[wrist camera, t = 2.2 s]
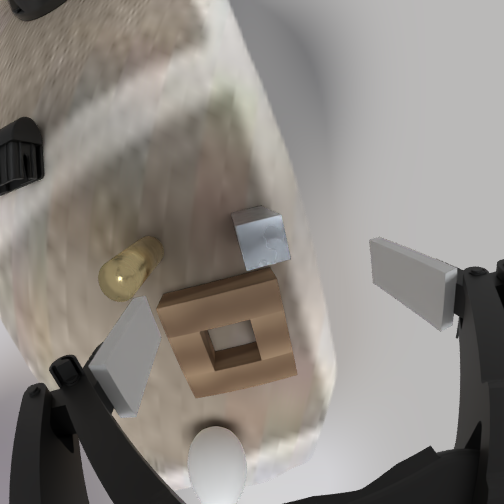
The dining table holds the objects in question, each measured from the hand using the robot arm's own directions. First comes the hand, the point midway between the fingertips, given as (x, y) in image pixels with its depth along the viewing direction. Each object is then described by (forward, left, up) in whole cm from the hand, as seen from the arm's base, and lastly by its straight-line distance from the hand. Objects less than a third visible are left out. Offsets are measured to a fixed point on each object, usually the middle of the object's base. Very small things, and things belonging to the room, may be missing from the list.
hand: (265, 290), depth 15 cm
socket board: (+9, -4, -15) cm, 18 cm away
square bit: (-1, +1, -15) cm, 15 cm away
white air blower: (+26, -11, -15) cm, 32 cm away
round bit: (-2, -10, -15) cm, 18 cm away
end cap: (-18, -25, -15) cm, 34 cm away
